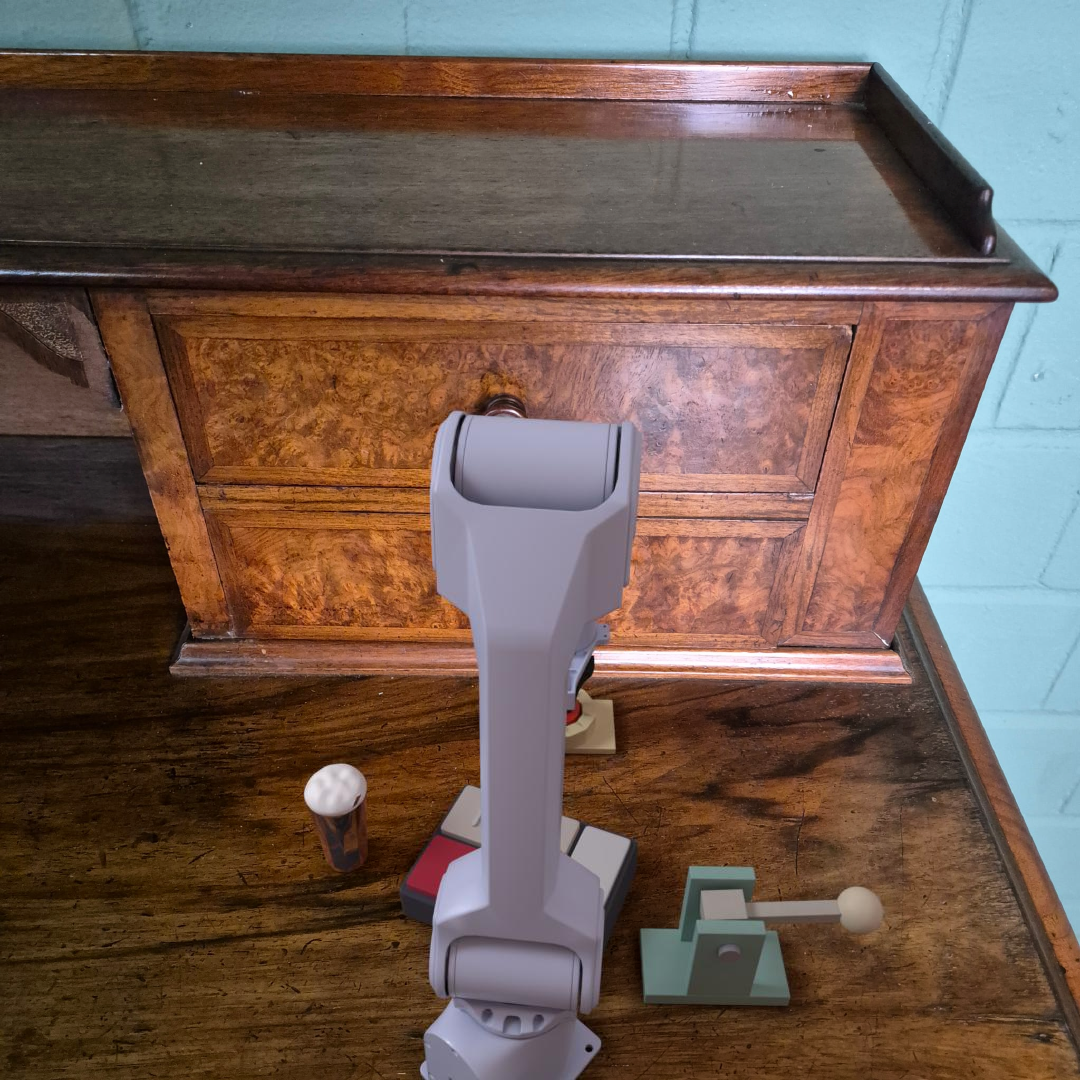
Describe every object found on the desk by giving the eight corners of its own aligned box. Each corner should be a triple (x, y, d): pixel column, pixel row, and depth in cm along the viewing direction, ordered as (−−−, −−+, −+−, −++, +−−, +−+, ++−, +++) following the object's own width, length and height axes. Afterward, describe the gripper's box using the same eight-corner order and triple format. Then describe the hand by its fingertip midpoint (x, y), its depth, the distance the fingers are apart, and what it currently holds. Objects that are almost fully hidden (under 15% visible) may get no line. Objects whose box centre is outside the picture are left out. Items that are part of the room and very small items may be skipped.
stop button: (579, 736, 84) (580, 722, 83) (538, 735, 84) (539, 722, 83) (578, 706, 87) (579, 693, 86) (539, 706, 87) (539, 692, 86)
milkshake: (349, 897, 72) (333, 814, 66) (306, 856, 75) (288, 773, 69) (395, 860, 75) (383, 776, 69) (352, 821, 78) (338, 738, 72)
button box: (615, 756, 84) (617, 737, 82) (502, 754, 84) (501, 735, 82) (611, 703, 89) (613, 683, 88) (505, 701, 89) (505, 682, 88)
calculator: (464, 775, 77) (639, 833, 72) (468, 810, 80) (638, 868, 74) (394, 884, 69) (586, 958, 64) (401, 919, 71) (587, 993, 66)
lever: (872, 902, 65) (878, 876, 64) (885, 943, 63) (891, 917, 61) (699, 907, 66) (700, 882, 64) (704, 948, 63) (706, 923, 62)
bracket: (773, 933, 70) (793, 861, 65) (789, 1013, 65) (812, 942, 60) (638, 930, 70) (647, 858, 65) (644, 1011, 65) (655, 939, 60)
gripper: (617, 652, 71) (607, 772, 79) (608, 537, 83) (600, 652, 91) (523, 650, 71) (523, 770, 79) (527, 536, 83) (527, 651, 91)
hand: (559, 707), depth 85 cm, fingers closed, pressing on stop button
